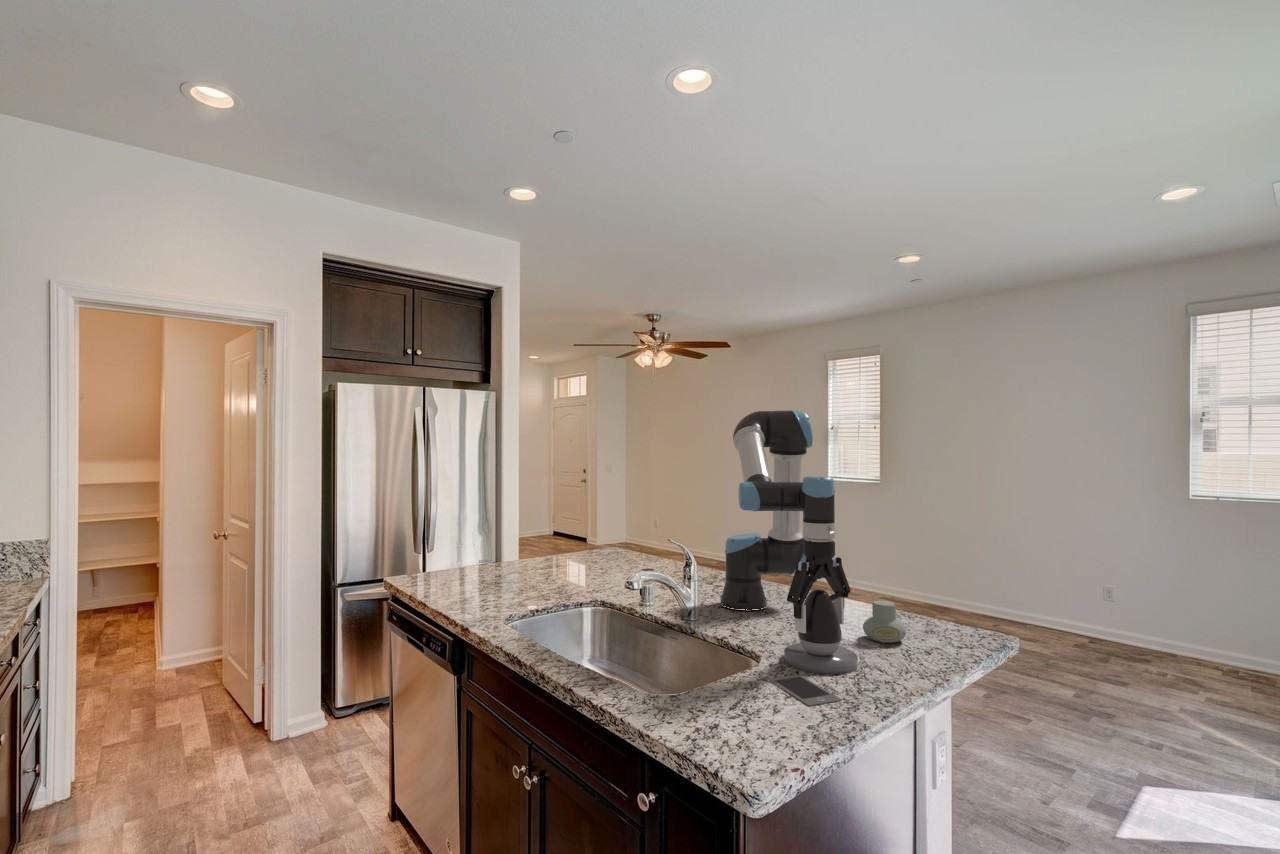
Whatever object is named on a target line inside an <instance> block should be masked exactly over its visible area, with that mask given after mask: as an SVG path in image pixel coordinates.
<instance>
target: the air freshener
mask: <svg viewBox="0 0 1280 854" xmlns="http://www.w3.org/2000/svg"><path fill="white" fill-rule="evenodd" d="M896 605H897V604H895V603H894V602H893V601H889V600H875V601H873V602H872V605H871V606H872V607H871V608H872V616H870V617H868V618H867V619H865V621H863V624H862V630H863V632H864V634H865V635H866V636H867V637H868V638H870V639H871V640H873V641H875V642H878V643H881V644H885V643H890V644H894V643H897V642H900V641H901V640H903V639H904V638H905V637H906V635H907V628H906V626H905V625H904V622H902V621H900V620H899V619H897V606H896Z"/></svg>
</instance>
